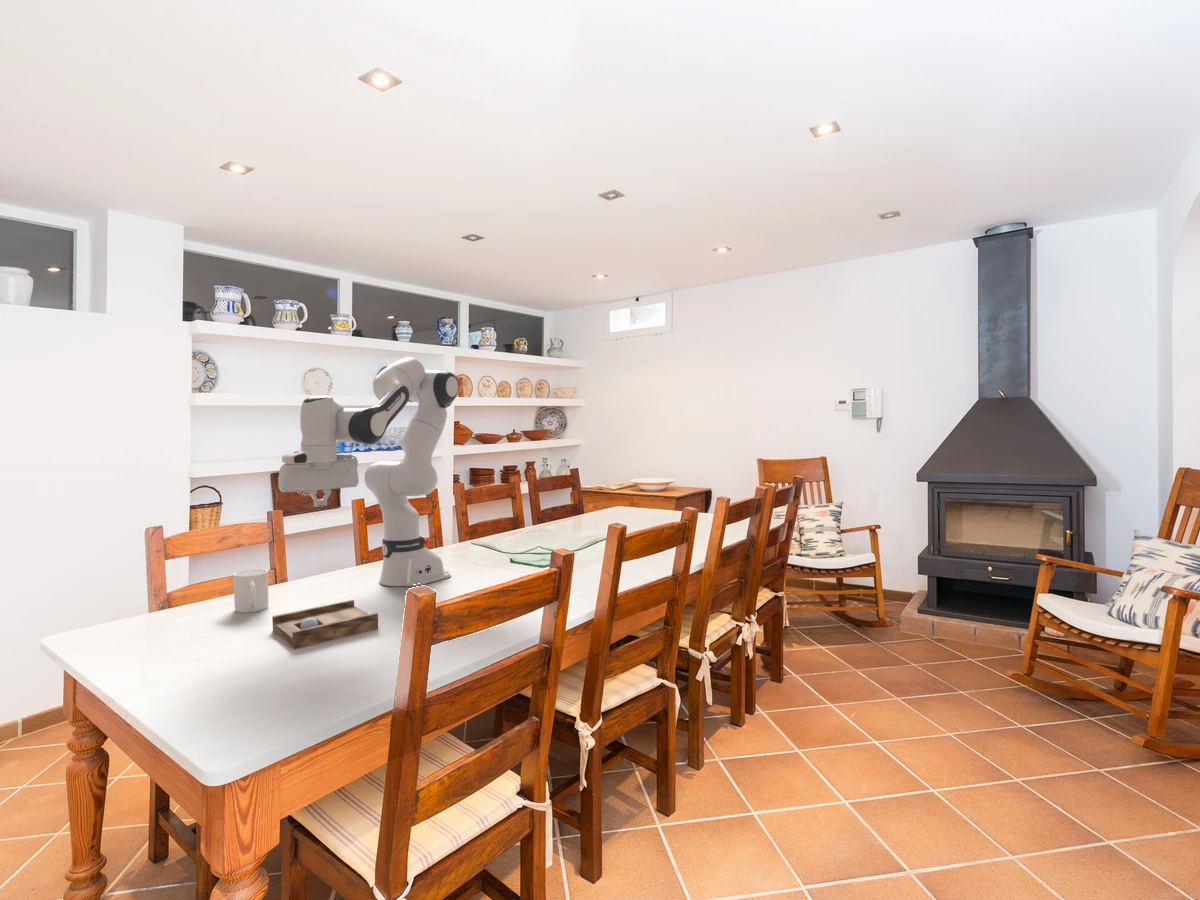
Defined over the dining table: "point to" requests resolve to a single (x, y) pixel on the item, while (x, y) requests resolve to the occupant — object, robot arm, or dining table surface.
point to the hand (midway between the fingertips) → (320, 506)
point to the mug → (251, 590)
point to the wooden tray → (323, 624)
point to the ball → (308, 623)
